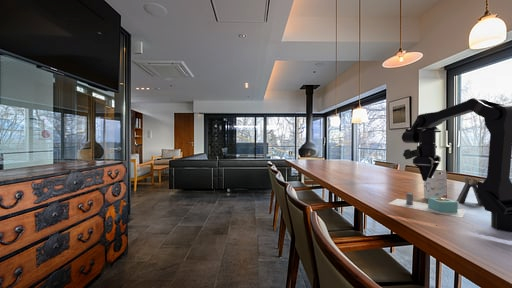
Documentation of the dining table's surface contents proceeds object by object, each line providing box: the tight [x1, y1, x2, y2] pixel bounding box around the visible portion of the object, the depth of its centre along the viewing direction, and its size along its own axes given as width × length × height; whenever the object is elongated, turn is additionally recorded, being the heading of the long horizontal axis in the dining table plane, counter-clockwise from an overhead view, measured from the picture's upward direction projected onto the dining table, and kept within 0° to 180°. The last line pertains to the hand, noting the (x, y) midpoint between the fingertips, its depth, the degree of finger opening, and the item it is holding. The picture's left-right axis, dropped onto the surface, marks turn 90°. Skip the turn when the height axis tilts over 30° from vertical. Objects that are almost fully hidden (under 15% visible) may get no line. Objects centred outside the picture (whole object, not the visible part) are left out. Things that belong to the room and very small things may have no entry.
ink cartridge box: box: [423, 169, 448, 200], centre depth 103 cm, size 9×5×15 cm, turn 105°
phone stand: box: [456, 176, 484, 207], centre depth 95 cm, size 9×6×12 cm, turn 53°
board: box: [388, 192, 467, 218], centre depth 91 cm, size 12×24×6 cm, turn 41°
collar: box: [427, 198, 459, 213], centre depth 87 cm, size 6×6×4 cm
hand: (427, 179), depth 93 cm, fingers open, 9 cm apart
